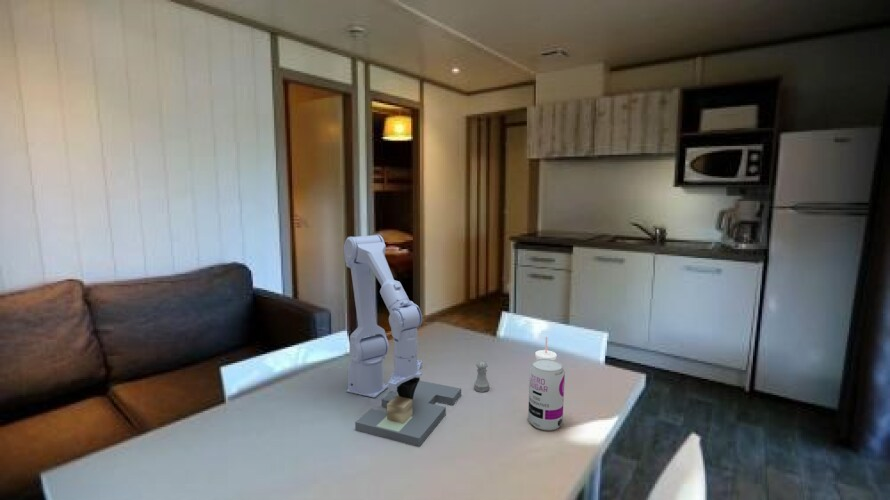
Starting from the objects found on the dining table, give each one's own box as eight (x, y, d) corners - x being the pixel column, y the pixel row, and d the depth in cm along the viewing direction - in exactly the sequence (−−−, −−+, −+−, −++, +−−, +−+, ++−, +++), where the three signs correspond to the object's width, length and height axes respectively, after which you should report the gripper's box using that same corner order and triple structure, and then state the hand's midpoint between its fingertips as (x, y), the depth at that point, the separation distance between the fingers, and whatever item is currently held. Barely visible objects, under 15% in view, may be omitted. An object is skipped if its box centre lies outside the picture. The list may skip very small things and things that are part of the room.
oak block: (387, 419, 103) (386, 404, 103) (396, 410, 107) (396, 395, 107) (403, 423, 102) (403, 407, 101) (412, 414, 106) (412, 399, 105)
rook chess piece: (488, 393, 121) (489, 366, 120) (472, 391, 122) (473, 364, 121) (490, 386, 125) (490, 359, 124) (474, 384, 126) (475, 358, 125)
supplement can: (563, 417, 108) (565, 360, 106) (561, 434, 101) (563, 373, 99) (530, 411, 111) (532, 356, 109) (526, 428, 103) (527, 369, 101)
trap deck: (355, 429, 103) (355, 422, 102) (406, 384, 126) (406, 377, 126) (419, 446, 96) (419, 438, 96) (461, 395, 120) (461, 388, 119)
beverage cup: (532, 385, 126) (534, 339, 124) (536, 376, 131) (537, 332, 129) (553, 389, 124) (555, 342, 121) (556, 380, 129) (558, 335, 127)
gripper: (406, 367, 98) (407, 423, 100) (432, 346, 111) (433, 396, 113) (379, 363, 100) (380, 417, 102) (408, 342, 114) (409, 391, 116)
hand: (406, 406), depth 108 cm, fingers closed
